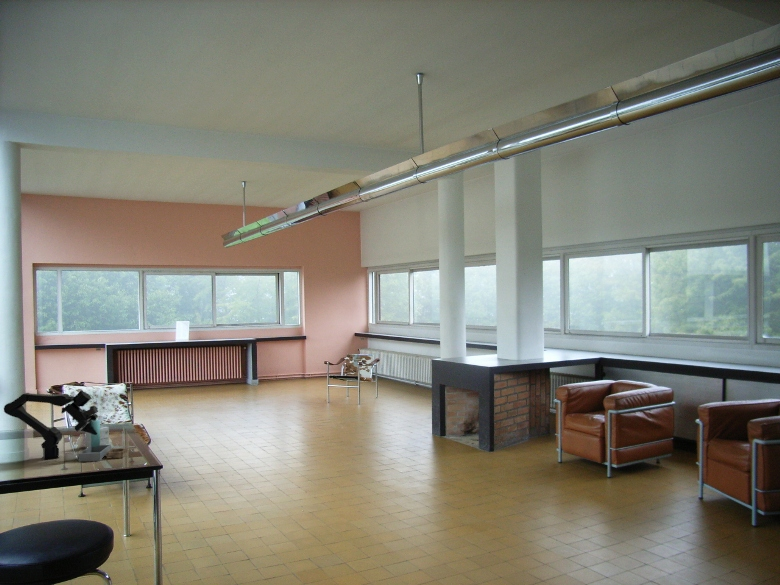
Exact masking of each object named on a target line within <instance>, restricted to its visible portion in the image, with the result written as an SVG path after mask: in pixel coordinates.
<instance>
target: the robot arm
mask: <svg viewBox="0 0 780 585" xmlns="http://www.w3.org/2000/svg"><path fill="white" fill-rule="evenodd" d="M91 399H92V396H91V395H90V394H89V393H87V392H85V391H84V390H80V391H78V393H77V394H76V395H75V396H74V395H69V394H68V393H60V394H52V395H51V394H43V393H42V394H39V393H30V392H25V393H23V394H21V395H20V396H19V397H17V398H16V399H14V400H12V401H10V402H8V403H6V404H5V405H4V406H3V412H4V413H5V414H7V415H9V416H10V417H14V418H17V419H18V420H20V421H22V422H23V423H25V424H26V425H27V426H29V427H30V428H32V429H33V430H35V431H36V432H37V433H38V434H40V435H41V436H42V439H43V440H44V441H43V442H42V443H41V444H40V446H41V448H42V457H41V458H42V459H43V460H44V461H48V459H49V460H55V459H58V458H59V456H60V450H59V449H60V448H59V446H58V445H59V443H60V442H61V440H62V439H63V433H62V431H61V430H59V429H58V428H57V427H55V426H53V427H49V426H47V425H46V424H44V423H43V422H41V421H40V420H38V419H37V418H36V417H34V416H33V415H32V414H30V413H29V412H27V411H26V409H25V407H24V405H25V404H26V403H27V402H30V403H43V404H44V403H45V404H51V405H53V406H55V407H61V411H60V412H61V414H64V413H67V414H68V415H69V416H70V417H71V418H72V421H76V422H77V424H75V426H74V430H75V431H76V432H79V431H81V432H84V433H85V432H88V433H91V434H94V435H97V432H96V431H95V430H94V428H93V427H92V426H91V421H95V420H97V418H98V417H99V415H98V414H97V413H98V412H99V410H98V409H99V408H98V407H97V406H95V405H92V406H90V407H89V409H88V410H86V409H82V408H81V407H84V406H85V405H86V404H87V403H88V402H89V401H91Z"/></svg>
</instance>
